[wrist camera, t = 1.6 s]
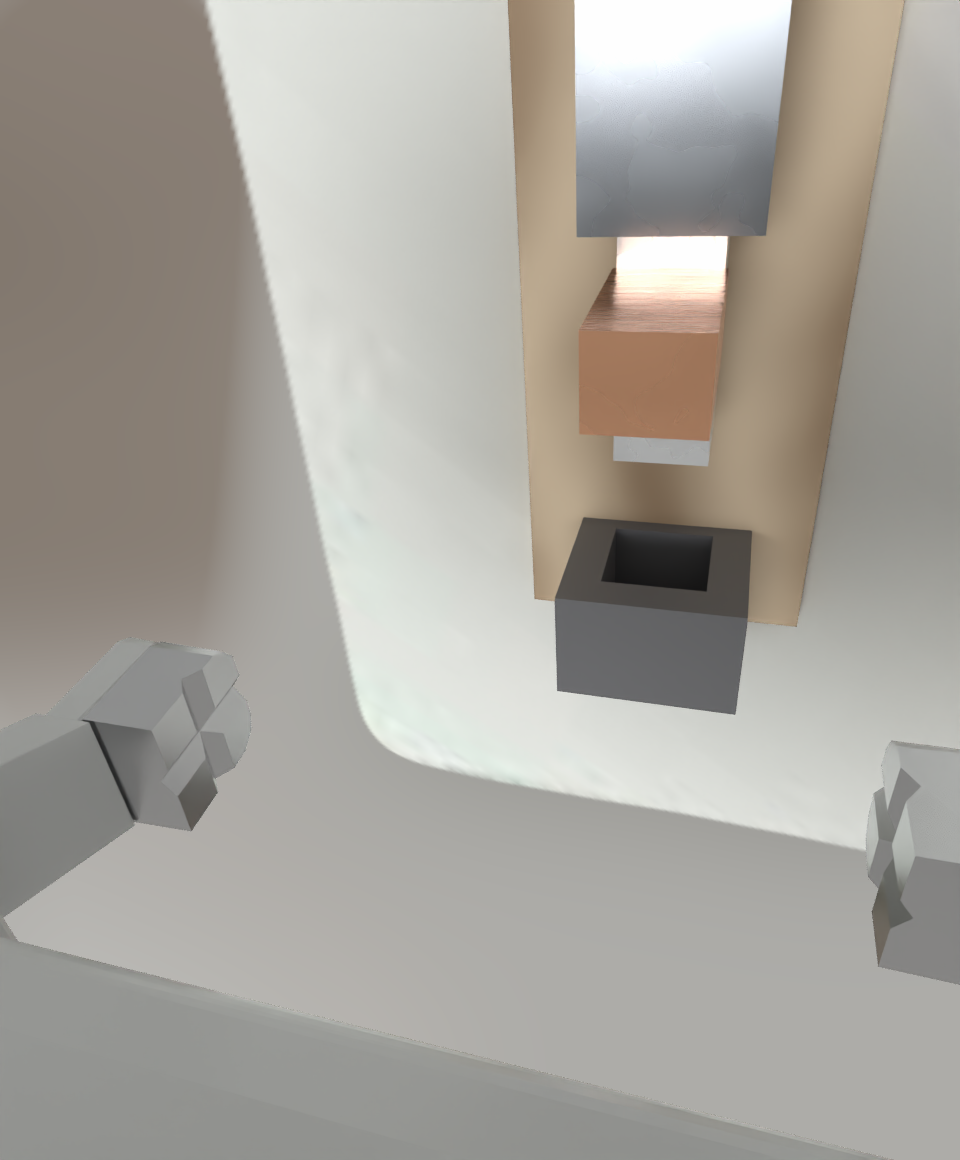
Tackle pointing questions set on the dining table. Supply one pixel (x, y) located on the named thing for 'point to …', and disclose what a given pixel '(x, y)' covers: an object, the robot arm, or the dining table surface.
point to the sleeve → (677, 115)
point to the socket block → (654, 613)
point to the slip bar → (656, 349)
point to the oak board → (753, 307)
